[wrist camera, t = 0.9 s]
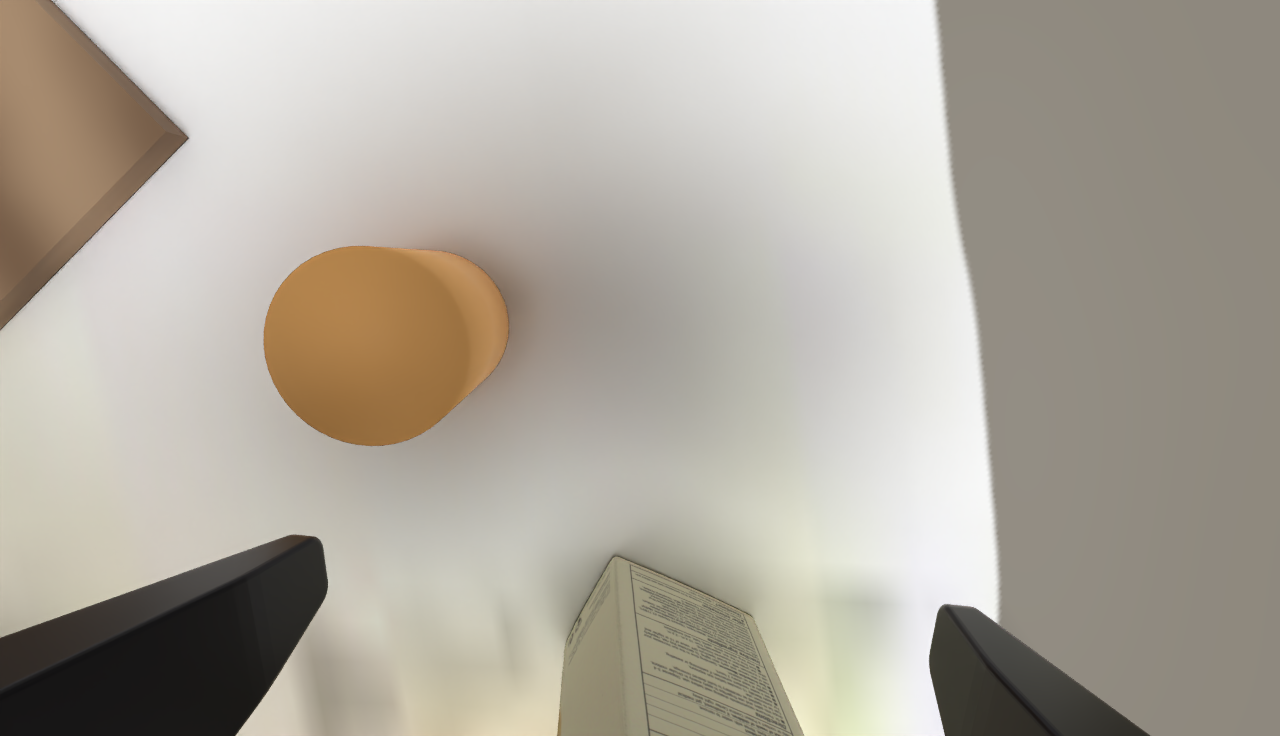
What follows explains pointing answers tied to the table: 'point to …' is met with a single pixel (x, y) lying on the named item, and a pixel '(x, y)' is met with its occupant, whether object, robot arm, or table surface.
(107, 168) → the walnut pad
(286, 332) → the orange cylinder
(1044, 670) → the robot arm
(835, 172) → the table surface
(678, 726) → the skincare box
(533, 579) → the table surface
